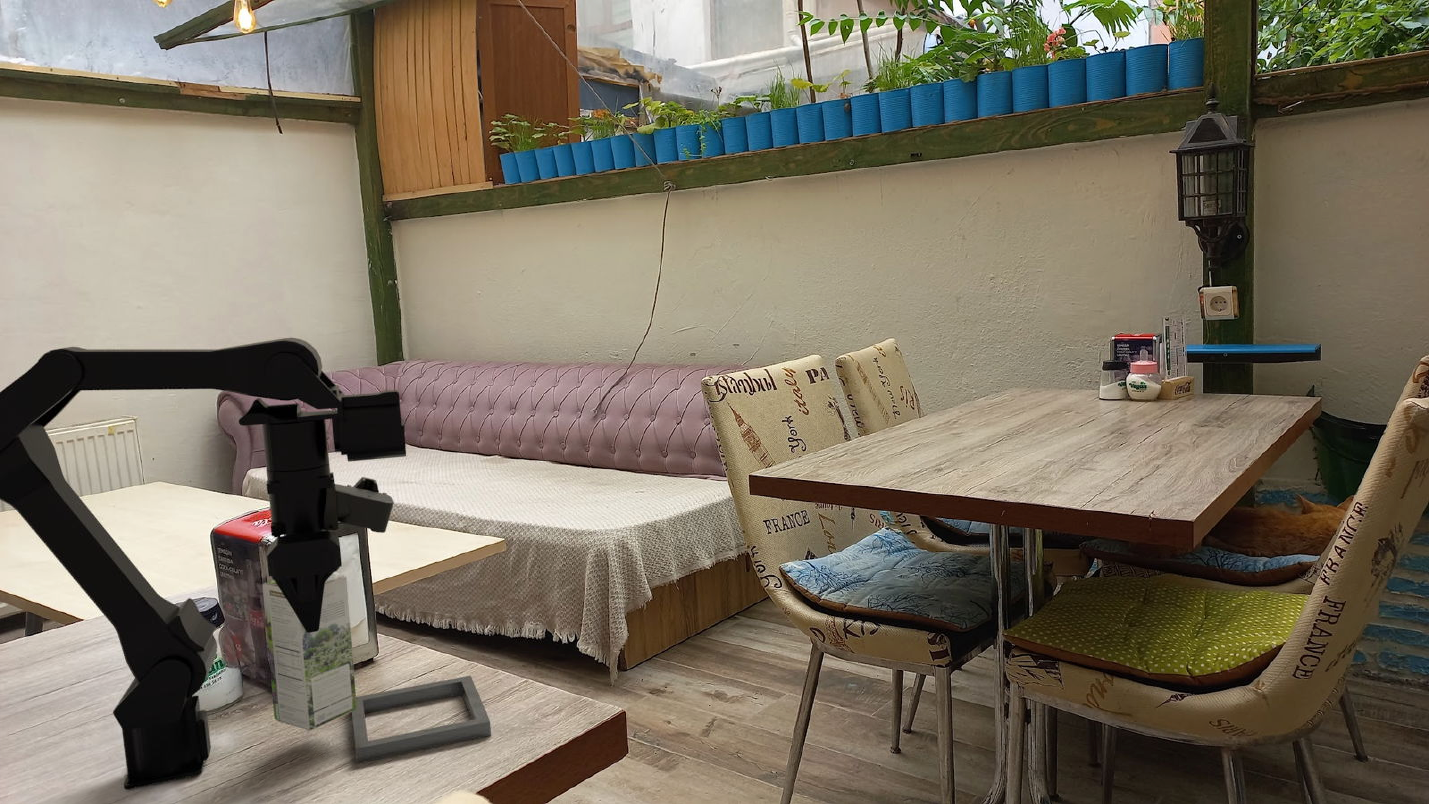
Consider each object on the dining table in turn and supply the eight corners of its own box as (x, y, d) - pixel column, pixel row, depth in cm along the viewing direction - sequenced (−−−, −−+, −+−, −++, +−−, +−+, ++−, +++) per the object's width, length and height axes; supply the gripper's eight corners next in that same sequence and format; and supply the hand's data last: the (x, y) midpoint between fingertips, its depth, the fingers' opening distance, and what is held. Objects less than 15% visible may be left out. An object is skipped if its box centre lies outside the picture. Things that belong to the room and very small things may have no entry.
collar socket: (356, 763, 94) (355, 749, 94) (351, 711, 106) (350, 698, 106) (491, 735, 99) (490, 721, 99) (471, 688, 111) (470, 675, 111)
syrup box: (322, 699, 102) (309, 566, 100) (359, 710, 99) (347, 572, 97) (273, 721, 97) (259, 581, 96) (311, 733, 94) (296, 588, 93)
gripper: (391, 473, 90) (404, 635, 92) (378, 444, 107) (389, 581, 109) (259, 487, 85) (276, 656, 87) (267, 455, 103) (281, 597, 105)
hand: (312, 619), depth 97 cm, fingers closed on syrup box, 7 cm apart
